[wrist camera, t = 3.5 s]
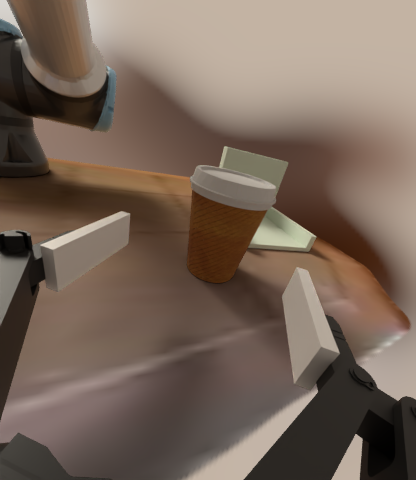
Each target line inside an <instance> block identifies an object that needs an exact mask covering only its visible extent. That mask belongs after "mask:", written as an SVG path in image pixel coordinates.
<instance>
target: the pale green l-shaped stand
mask: <svg viewBox="0 0 416 480" xmlns="http://www.w3.org/2000/svg"><path fill="white" fill-rule="evenodd" d="M287 165H288V162H285V161H281V160H277V159H273V158H269V157H265V156H261V155H257V154H253V153H249V152H245V151H241V150H237V149H233V148H229V147H224V150H223V154H222V158H221V162H220V167H219V168H224V169H229V170H233V171H237V172H240V173H244V174H247V175H251V176H254V177H257V178H259V179H262V180H265V181H267V182H269V183H271V184H273V185H274V186H275V187H276V191H275V197H276V194H277V191H278V189H279V186H280V184H281V181H282V178H283V176H284V173H285V170H286V168H287ZM275 197H274V198H275ZM315 239H316V236H315V235H313V234H312V233H310V232H309V231H307V230H306V229H304V228H303V227H301V226H300V225H298V224H297V223H295V222H294V221H292V220H291V219H289V218H288V217H286V216H285V215H283V214H282V213H280V212H279V211H277V210H276V209H274V208H273V207H272V206H271V208H270V209H269V210H267V212H266V214H265V216H264V218H263V220H262V222H261V224H260V226H259V227H258V229H257V231H256V233H255V235H254V237H253V239H252V241H251V243H250V245H249V246H248V248H260V249H275V250H290V251H304V252H309V251H310V249H311V247H312V245H313V243H314V241H315Z"/></svg>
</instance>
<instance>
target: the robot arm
mask: <svg viewBox="0 0 416 480" xmlns="http://www.w3.org/2000/svg"><path fill="white" fill-rule="evenodd" d="M7 2H8V4H9V6H10V8H11V10H12V13H13V15H14V17H15V19H16V21H17V23H18V25H19V27H20V30H21V32H22V34H23V36H24V37H23V36H22V35H21V33H20V31H19V29H18V28H16V27H15V26H14V25H12V24H10V23H8V22H6V21H4V20H2V19H0V176H7V177H25V176H37V175H42V174H46V173H48V172H49V163H48V159H47V157H46V155H45V153H44V151H43V149H42V147H41V145H40V143H39V140H38V138H37V136H36V134H35V132H34V126H33V117H35V118H40V119H45V120H49V121H54V122H58V123H63V124H68V125H72V126H76V127H80V128H85V129H89V130H90V131H100V132H108V131H110V129H111V127H112V122H113V112H114V111H113V110H114V103H115V92H116V73H115V71H114V70H113V69H111V68H109V67H108V66H106V65H105V61H104V59H103V56H102V55H101V53H100V51H99V50H98V48H97V47H96V46H95V44H94V43H93V42H92V36H91V30H90V23H89V17H88V11H87V4H86V0H7ZM129 226H130V214H129V213H126V212H123V211H121V212H118V213H116V214H113V215H111V216H109V217H106V218H104V219H101V220H99V221H97V222H94V223H92V224H89V225H87V226H84V227H82V228H80V229H77V230H73V231H67V232H64V233H62V234H59V236H58V235H57V236H55V237H53V238H50V239H47V240H45V241H42V242H40V243H37V244H35V245H32V241H31V235H30V233H29V232H27V231H23V230H9V231H4V232H1V233H0V420H1V416H2V413H3V410H4V406H5V403H6V399H7V396H8V393H9V389H10V386H11V383H12V379H13V376H14V372H15V369H16V366H17V362H18V359H19V356H20V352H21V349H22V345H23V342H24V339H25V335H26V332H27V329H28V325H29V322H30V318H31V315H32V312H33V308H34V305H35V301H36V298H37V295H38V291H39V282H41V281H43V280H44V279H45V281H46V288H49V289H51V290H54V291H56V292H59V291H61V290H62V289H64V288H65V287H66V286H68V285H69V284H71V283H72V282H74V281H75V280H77V279H78V278H80V277H81V276H83V275H84V274H85V273H87V272H88V271H90V270H91V269H93V268H94V267H96V266H97V265H99V264H100V263H102V262H103V261H104V260H106V259H107V258H109V257H110V256H112V255H113V254H115V253H116V252H118V251H119V250H121V249H122V248H123V247H125V246H126V245H128V242H129ZM282 300H283V307H284V314H285V321H286V329H287V336H288V343H289V350H290V357H291V365H292V372H293V379H294V384H295V385H298V386H300V387H303V388H305V389H308V390H311V389H312V388H313V387H314V385H315V384H317V388H318V393H317V394H316V396H315V397H314V398H313V399H312V400H311V401H310V403H309V404H308V405H307V406H306V407H305V409H304V410H303V411H302V412H301V413H300V414H299V415H298V417H297V418H296V419H295V420H294V421H293V423H292V424H291V425H290V426H289V427H288V428H287V430H286V431H285V432H284V433H283V434H282V436H281V437H280V438H279V439H278V440H277V441H276V443H275V444H274V445H273V446H272V447H271V448H270V449H269V451H268V452H267V453H266V454H265V455H264V457H263V458H262V459H261V460H260V461H259V462H258V464H257V465H256V466H255V467H254V468H253V470H252V471H251V472H250V473H249V474H248V475H247V477H246V478H245V479H244V480H331V479H332V477H333V475H334V473H335V472H336V470H337V468H338V466H339V464H340V462H341V460H342V458H343V456H344V455H345V453H346V450H347V449H348V447H349V445H350V443H351V441H352V440H353V438H354V436H355V434H357V435H358V436H360V437H361V438H363V443H362V456H361V471H360V480H416V400H415V399H413V398H411V397H407V396H406V397H402V398H401V399H400V400H399V401H397V400H395V399H394V398H392V397H390V396H389V395H387V394H386V393H384V392H383V391H381V390H379V389H378V388H377V385H376V383H375V381H374V380H373V378H372V377H371V376H370V375H369V374H368V373H367V372H366V371H365V370H364V369H363V368H362V367H360V366H359V365H357V364H356V361H355V359H354V357H353V355H352V353H351V350H350V348H349V346H348V344H347V342H346V339H345V337H344V335H343V332H342V330H341V328H340V326H339V324H338V323H337V322H336V321H335V320H334V318H333V317H331V316H328V315H325V314H324V311H323V309H322V306H321V304H320V301H319V298H318V296H317V293H316V291H315V288H314V285H313V283H312V280H311V278H310V275H309V273H308V270H304V269H301V268H298V267H297V268H296V270H295V272H294V274H293V276H292V278H291V280H290V282H289V284H288V286H287V288H286V290H285V292H284V293H283V295H282ZM0 480H112V479H107V478H89V477H73V476H70V475H68V474H67V473H66V471H65V470H64V469H63V467H62V466H61V465H60V464H59V462H58V461H57V460H56V458H55V457H54V456H53V454H52V453H51V452H50V451H49V449H48V448H47V447H46V446H44V445H42V444H40V443H38V442H36V441H34V440H32V439H30V438H28V437H26V436H24V435H22V434H20V433H17V435H16V436H15V437H14V438H13V439H12V440H11V441H10V443H0Z"/></svg>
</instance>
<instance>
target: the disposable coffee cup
mask: <svg viewBox="0 0 416 480" xmlns="http://www.w3.org/2000/svg"><path fill="white" fill-rule="evenodd" d="M190 182H191V188H192V204H191V216H190V230H189V244H188V258H187V267H188V269H189V271H190V272H191V273H192V274H193V275H195V276H196V277H198V278H200V279H202V280H204V281H208V282H212V283H223V282H226V281H229V280H230V279H231V278H232V277H233V275H234V273H235V271H236V269H237V267H238V265H239V263H240V262H241V260H242V258H243V256H244V254H245V252H246V250H247V248H248V246H249V245H250V243H251V241H252V239H253V237H254V235H255V233H256V231H257V229H258V227H259V226H260V224H261V222H262V220H263V218H264V216H265V214H266V212H267V210H269V209H270V208H271V206H272V205H273V204H275V202H276V199H275V198H274V197H275V191H276V187H275V186H274V185H273V184H271V183H269V182H267V181H265V180H262V179H259V178H257V177H254V176H251V175H247V174H244V173H240V172H237V171H233V170H229V169H224V168H219V167H214V166H204V165H200V166H197V168H196V170H195V172H194V175H193V176H191V177H190Z"/></svg>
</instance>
